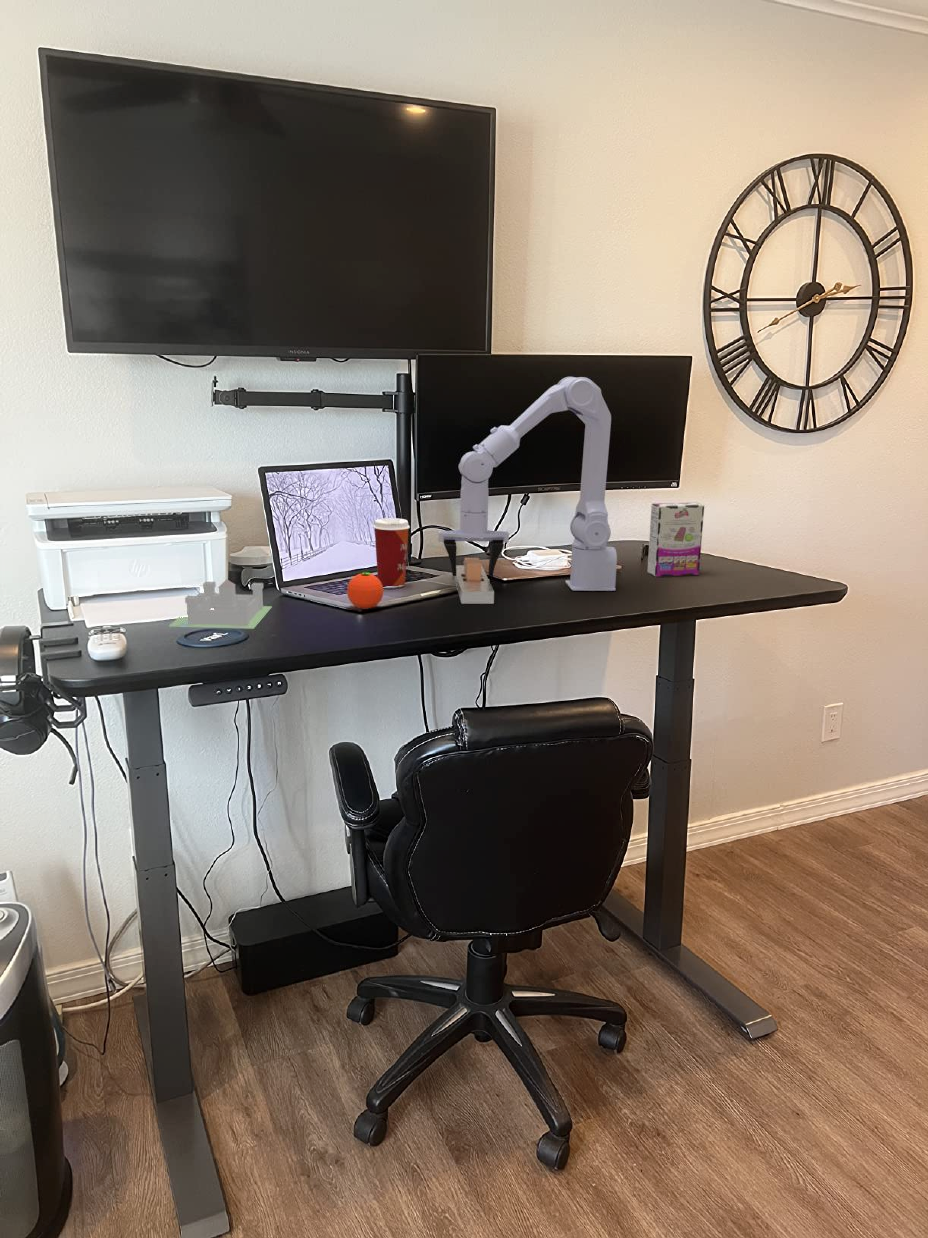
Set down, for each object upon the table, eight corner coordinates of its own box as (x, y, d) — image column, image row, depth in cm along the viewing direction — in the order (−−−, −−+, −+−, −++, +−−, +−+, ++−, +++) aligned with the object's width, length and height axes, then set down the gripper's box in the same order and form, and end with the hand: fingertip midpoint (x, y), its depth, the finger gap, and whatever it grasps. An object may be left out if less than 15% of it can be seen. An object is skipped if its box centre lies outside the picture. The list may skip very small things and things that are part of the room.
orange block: (477, 585, 192) (478, 557, 191) (480, 592, 186) (481, 564, 185) (463, 585, 192) (464, 557, 190) (466, 592, 186) (467, 564, 184)
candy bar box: (689, 571, 211) (695, 501, 206) (699, 575, 206) (706, 504, 202) (645, 572, 208) (650, 502, 204) (654, 577, 204) (660, 505, 199)
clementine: (351, 601, 177) (351, 566, 175) (386, 603, 176) (386, 568, 174) (344, 612, 169) (343, 575, 167) (380, 613, 169) (380, 577, 167)
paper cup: (412, 589, 188) (413, 523, 184) (376, 590, 186) (375, 523, 182) (406, 580, 195) (406, 517, 191) (370, 582, 193) (370, 517, 189)
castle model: (253, 631, 158) (252, 590, 156) (168, 629, 158) (166, 588, 156) (272, 609, 172) (270, 571, 170) (194, 607, 172) (192, 569, 170)
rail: (481, 576, 201) (481, 565, 200) (493, 603, 178) (494, 591, 177) (453, 576, 200) (453, 565, 199) (461, 603, 177) (461, 591, 176)
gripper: (506, 508, 189) (504, 571, 192) (438, 507, 188) (437, 570, 191) (510, 513, 182) (508, 578, 186) (439, 513, 181) (438, 578, 185)
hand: (472, 575), depth 188 cm, fingers open, 7 cm apart
